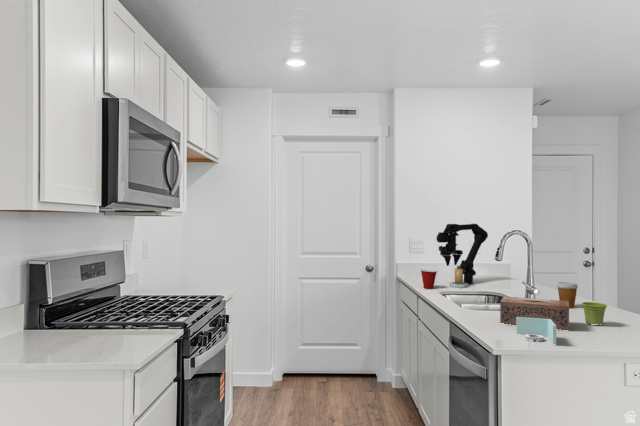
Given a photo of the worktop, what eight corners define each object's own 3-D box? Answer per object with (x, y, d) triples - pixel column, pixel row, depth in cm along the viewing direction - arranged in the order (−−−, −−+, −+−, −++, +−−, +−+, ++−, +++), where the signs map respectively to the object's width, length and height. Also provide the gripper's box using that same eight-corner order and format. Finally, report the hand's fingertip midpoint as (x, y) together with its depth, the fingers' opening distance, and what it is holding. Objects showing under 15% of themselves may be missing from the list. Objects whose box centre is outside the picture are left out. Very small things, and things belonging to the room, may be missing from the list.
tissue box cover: (568, 324, 201) (568, 301, 201) (569, 331, 188) (569, 306, 188) (503, 318, 212) (503, 296, 212) (500, 325, 199) (500, 301, 199)
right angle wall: (516, 336, 181) (516, 316, 181) (550, 339, 178) (550, 319, 178) (519, 344, 170) (519, 323, 170) (556, 347, 166) (556, 326, 166)
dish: (455, 284, 317) (455, 281, 317) (470, 286, 308) (470, 283, 309) (446, 286, 309) (446, 283, 309) (461, 288, 301) (461, 284, 301)
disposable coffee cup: (577, 306, 242) (577, 282, 242) (578, 309, 233) (578, 285, 233) (556, 304, 246) (556, 281, 246) (557, 307, 237) (557, 284, 237)
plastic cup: (439, 289, 295) (439, 270, 295) (422, 289, 295) (422, 270, 295) (435, 287, 306) (435, 268, 306) (418, 287, 306) (418, 268, 306)
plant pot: (607, 328, 194) (606, 306, 194) (580, 325, 199) (580, 304, 199) (607, 323, 202) (607, 303, 202) (582, 321, 207) (582, 301, 207)
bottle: (457, 284, 313) (457, 265, 313) (464, 285, 309) (464, 265, 309) (453, 285, 309) (453, 265, 309) (460, 286, 305) (460, 266, 306)
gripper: (448, 241, 330) (448, 263, 330) (433, 242, 318) (433, 265, 318) (463, 242, 322) (463, 265, 322) (447, 243, 309) (447, 266, 309)
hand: (451, 265), depth 318 cm, fingers open, 9 cm apart
